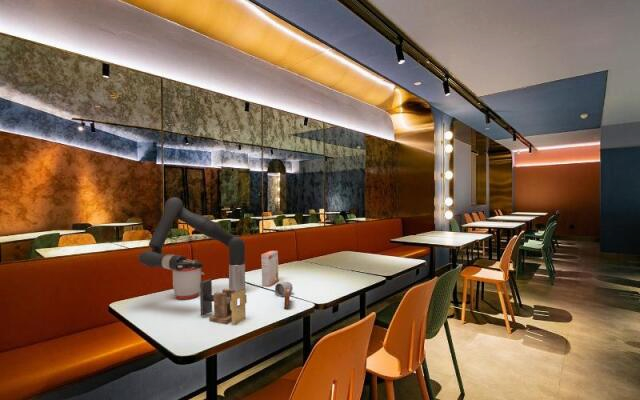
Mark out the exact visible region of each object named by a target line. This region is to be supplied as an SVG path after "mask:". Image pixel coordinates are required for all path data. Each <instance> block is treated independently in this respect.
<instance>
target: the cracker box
mask: <svg viewBox="0 0 640 400" xmlns="http://www.w3.org/2000/svg"><path fill="white" fill-rule="evenodd" d="M278 252H279V251H278V250H270V251H266V252H264V253H261V254H260V255H261V259H260V260H261V286H262V287H271V286H273V285H275V284H276V283H277V282H278V283H279V255H278Z"/></svg>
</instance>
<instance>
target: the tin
mask: <svg viewBox="0 0 640 400" xmlns="http://www.w3.org/2000/svg"><path fill="white" fill-rule="evenodd" d="M290 296H291V293H290V288H285V296H284V303H283V304H284V306H283V308H285V309H286V308H287V309H289V308H290V298H291V297H290Z"/></svg>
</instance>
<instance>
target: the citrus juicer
mask: <svg viewBox="0 0 640 400" xmlns="http://www.w3.org/2000/svg"><path fill="white" fill-rule="evenodd" d="M202 275H204V276H205V272H203V271H202V268H191V269H183V270H181V271H177V270H172V287H173V289H172V290H173V293H174V295H175V297H176V299H177V300H181V301H183V300H189V299H194V298H196V297H198V296H199V294H200V282H202Z"/></svg>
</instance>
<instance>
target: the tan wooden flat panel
mask: <svg viewBox="0 0 640 400" xmlns="http://www.w3.org/2000/svg"><path fill="white" fill-rule="evenodd" d="M231 298H232V300H231V301H230V310H232V322H231V325H234V326H235V325H237V324H239V323H240V322H242V321H243V320H246V304H248V303H247V301H248V300H247V299H248V298H247V294H246V288H245V289H240V290H238V291H236V292H234V293H231ZM238 300H239V305H238Z"/></svg>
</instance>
